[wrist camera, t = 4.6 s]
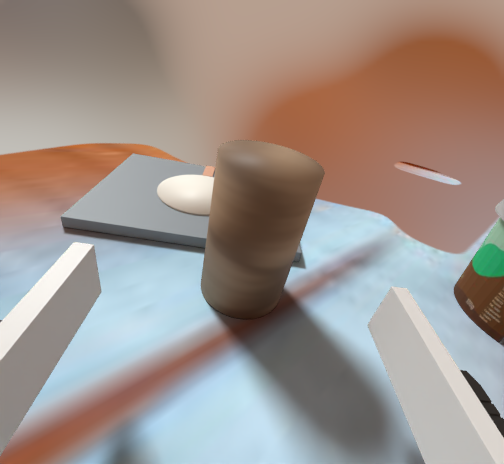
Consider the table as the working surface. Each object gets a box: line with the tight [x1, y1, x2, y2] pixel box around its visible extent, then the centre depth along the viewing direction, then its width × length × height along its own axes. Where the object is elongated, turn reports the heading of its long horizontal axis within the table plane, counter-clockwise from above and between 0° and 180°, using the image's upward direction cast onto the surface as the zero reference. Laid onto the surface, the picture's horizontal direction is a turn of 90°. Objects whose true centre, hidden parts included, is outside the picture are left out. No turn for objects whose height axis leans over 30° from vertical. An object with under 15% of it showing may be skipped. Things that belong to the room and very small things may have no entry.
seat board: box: [61, 154, 301, 262], centre depth 30 cm, size 20×16×1 cm
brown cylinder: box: [201, 140, 325, 319], centre depth 18 cm, size 6×6×10 cm
